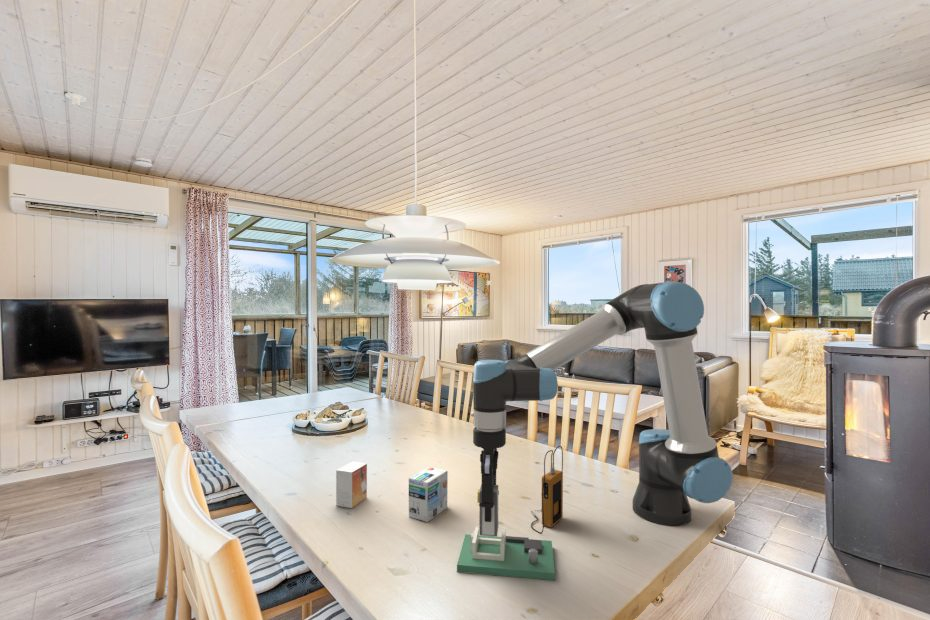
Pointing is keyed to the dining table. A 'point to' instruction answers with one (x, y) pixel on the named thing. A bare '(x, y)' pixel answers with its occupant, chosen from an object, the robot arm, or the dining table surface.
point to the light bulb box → (428, 493)
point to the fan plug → (494, 510)
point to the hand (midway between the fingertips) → (489, 528)
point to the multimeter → (551, 496)
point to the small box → (351, 484)
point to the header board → (506, 556)
